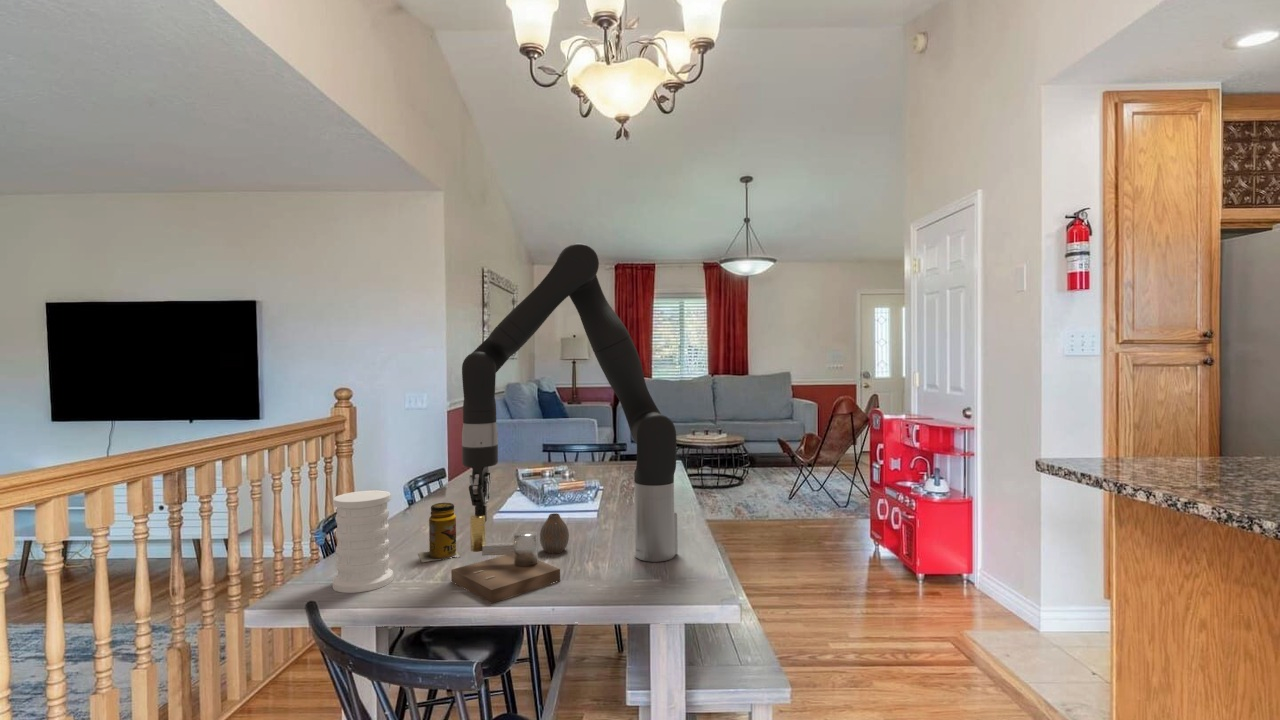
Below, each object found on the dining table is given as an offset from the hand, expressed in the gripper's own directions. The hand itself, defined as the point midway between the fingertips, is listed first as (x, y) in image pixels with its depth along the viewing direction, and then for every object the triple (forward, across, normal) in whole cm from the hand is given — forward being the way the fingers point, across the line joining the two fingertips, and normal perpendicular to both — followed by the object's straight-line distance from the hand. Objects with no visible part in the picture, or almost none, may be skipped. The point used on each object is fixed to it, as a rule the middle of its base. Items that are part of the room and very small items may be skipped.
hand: (481, 522), depth 132 cm
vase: (+11, +12, -15) cm, 22 cm away
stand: (+10, -7, -6) cm, 14 cm away
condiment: (+11, +12, +12) cm, 20 cm away
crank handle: (+8, -3, -6) cm, 10 cm away
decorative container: (+11, -4, +23) cm, 26 cm away
